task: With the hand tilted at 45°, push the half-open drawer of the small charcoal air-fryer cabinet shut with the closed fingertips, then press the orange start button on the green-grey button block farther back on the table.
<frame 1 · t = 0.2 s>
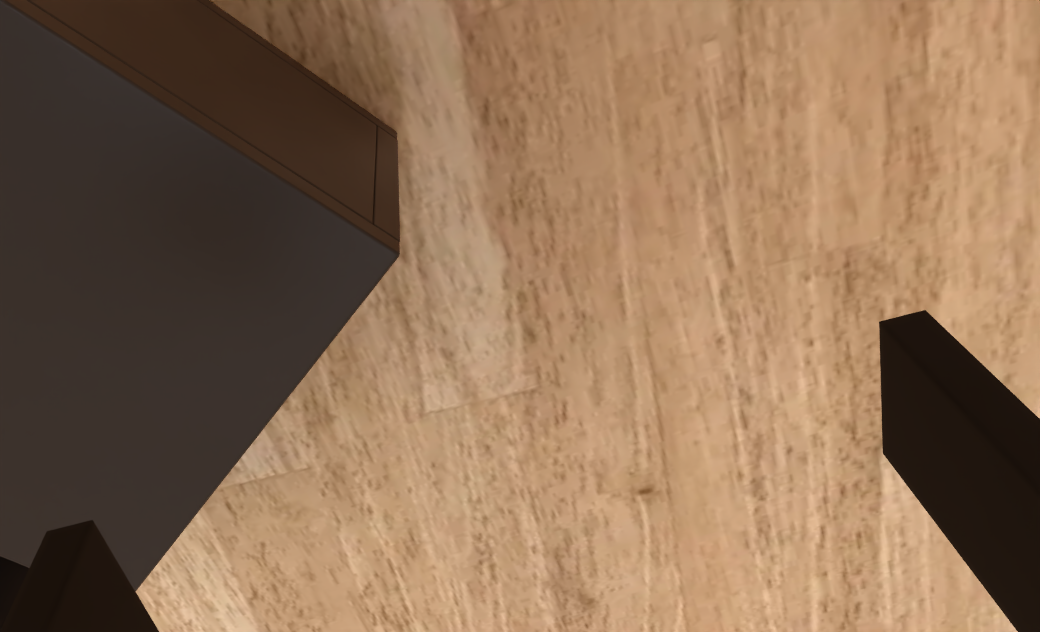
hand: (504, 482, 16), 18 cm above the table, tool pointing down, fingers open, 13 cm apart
cabinet: (131, 191, 31), on the table
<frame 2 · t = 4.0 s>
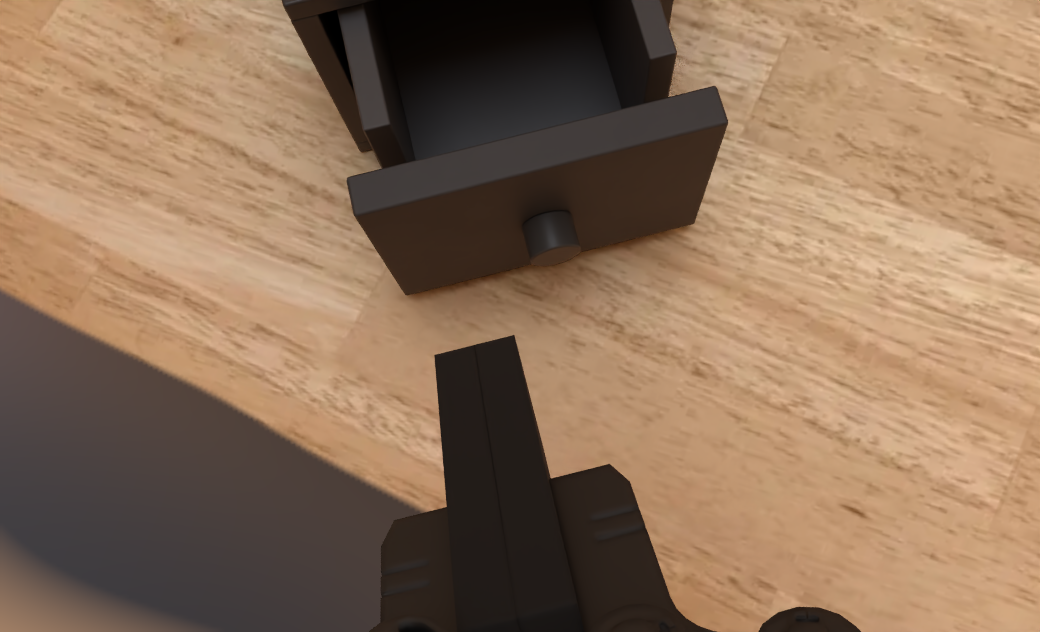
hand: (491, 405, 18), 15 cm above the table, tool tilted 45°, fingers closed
drawer: (504, 62, 30), point 5 cm above the table, slide at 5.0 cm
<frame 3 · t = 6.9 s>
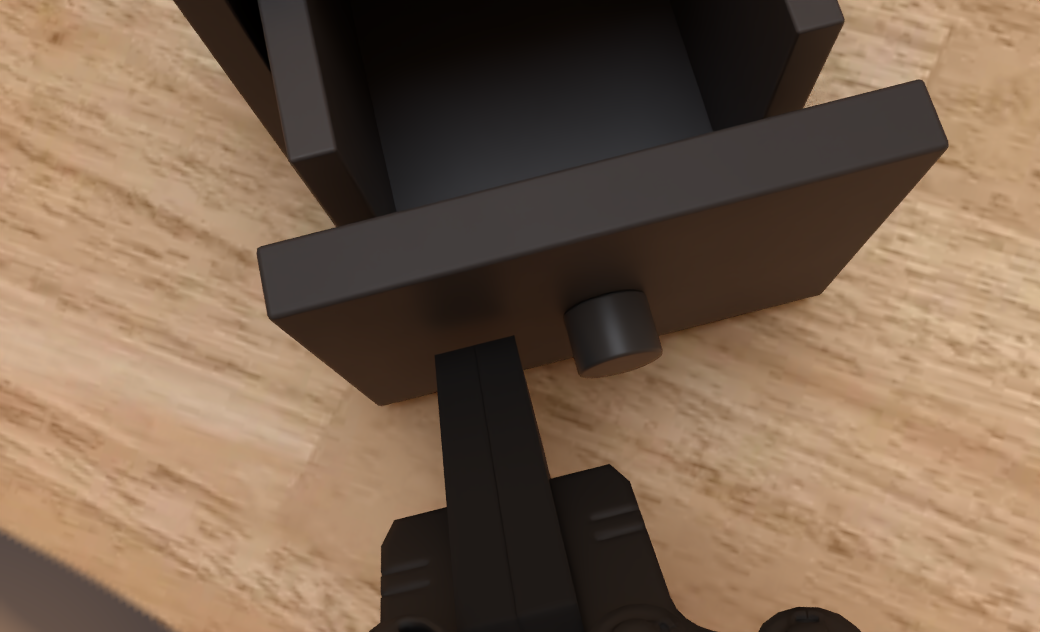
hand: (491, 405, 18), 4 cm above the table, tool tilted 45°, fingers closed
drawer: (531, 45, 19), point 5 cm above the table, slide at 4.5 cm, touching gripper
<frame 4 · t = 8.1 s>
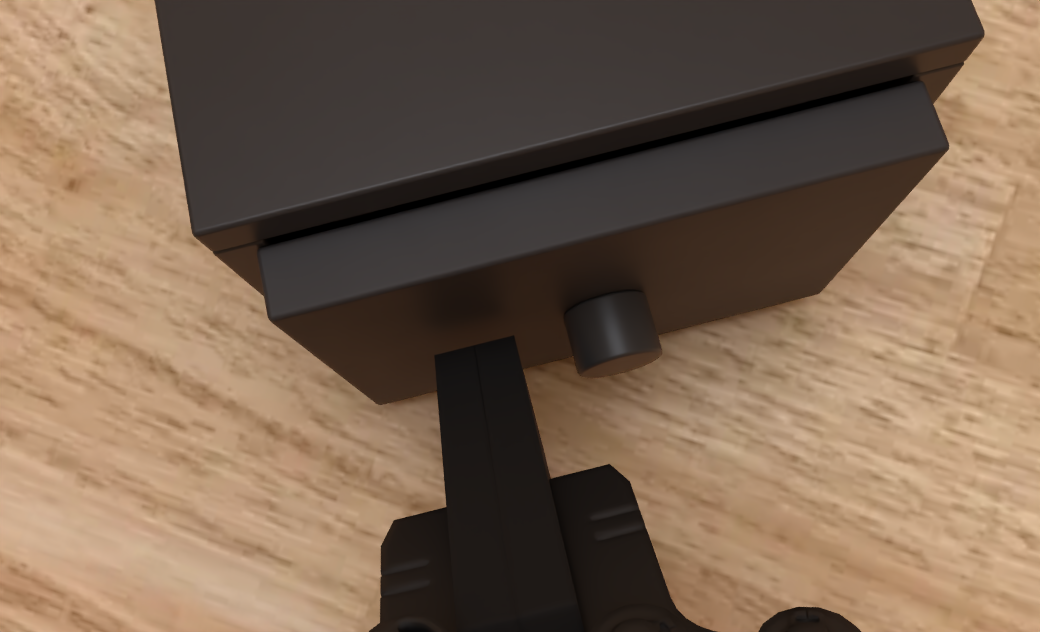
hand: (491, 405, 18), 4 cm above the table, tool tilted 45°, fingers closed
drawer: (531, 44, 19), point 5 cm above the table, slide at 0.0 cm, touching cabinet, gripper
cabinet: (518, 65, 24), on the table
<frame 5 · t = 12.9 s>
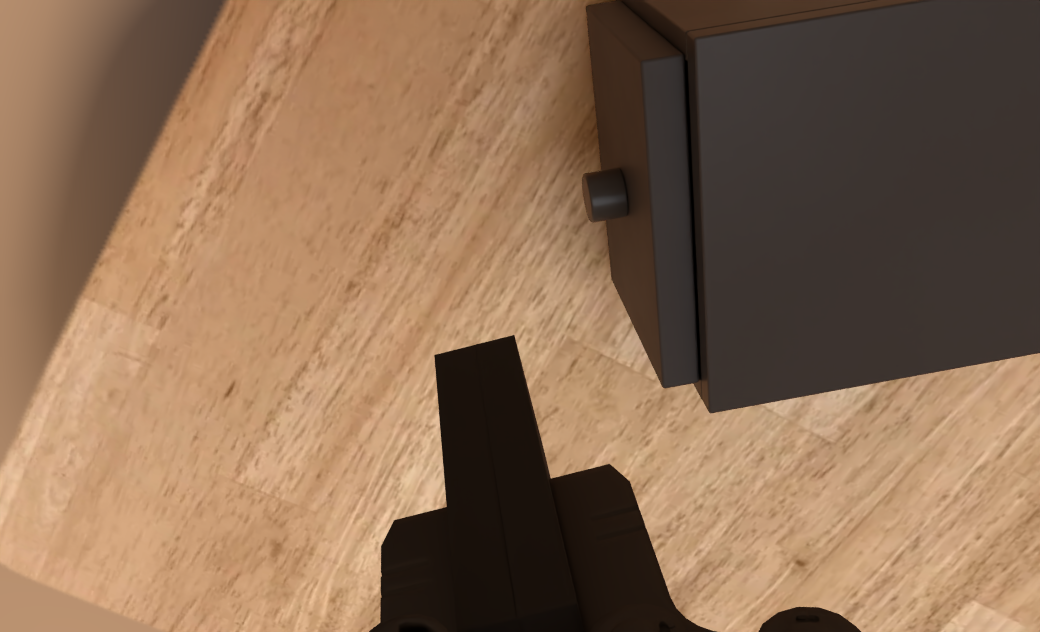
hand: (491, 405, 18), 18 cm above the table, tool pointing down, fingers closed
drawer: (792, 162, 31), point 5 cm above the table, slide at 0.0 cm, touching cabinet
cabinet: (805, 109, 35), on the table
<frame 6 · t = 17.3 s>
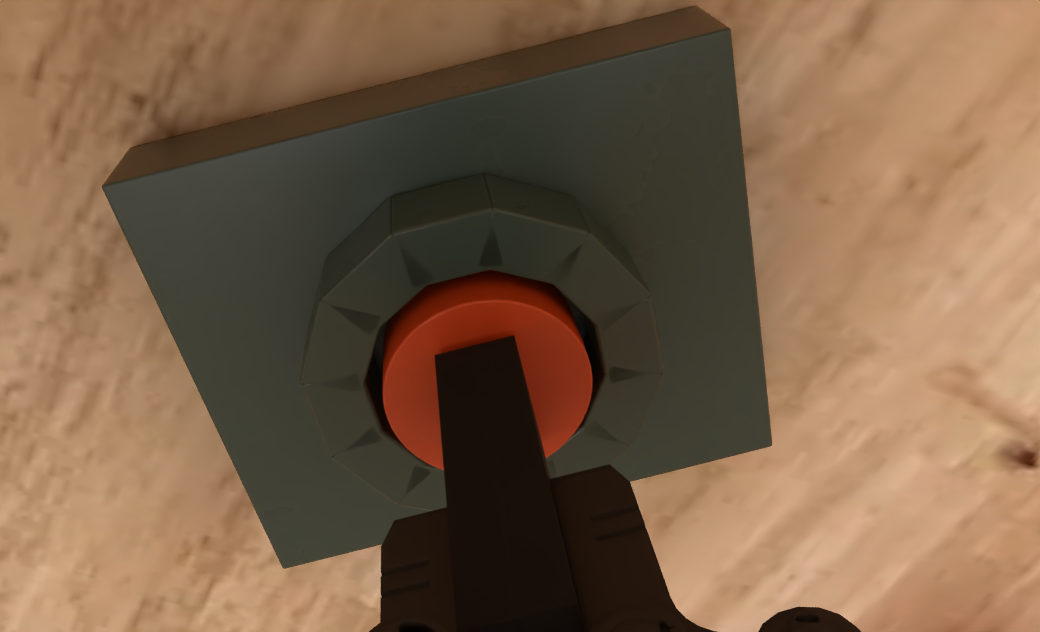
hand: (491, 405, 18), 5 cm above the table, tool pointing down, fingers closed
start button: (485, 369, 19), point 4 cm above the table, slide at -0.7 cm, touching gripper
button block: (471, 285, 22), on the table
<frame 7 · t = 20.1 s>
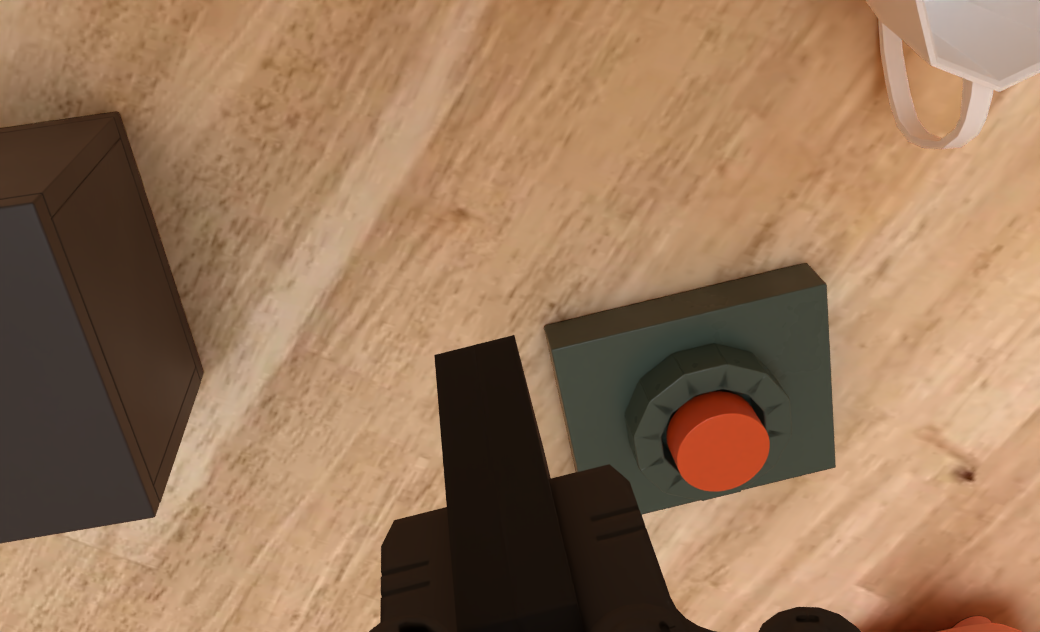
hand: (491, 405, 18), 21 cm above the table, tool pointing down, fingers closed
start button: (717, 441, 40), point 4 cm above the table, slide at 0.1 cm
button block: (688, 386, 44), on the table
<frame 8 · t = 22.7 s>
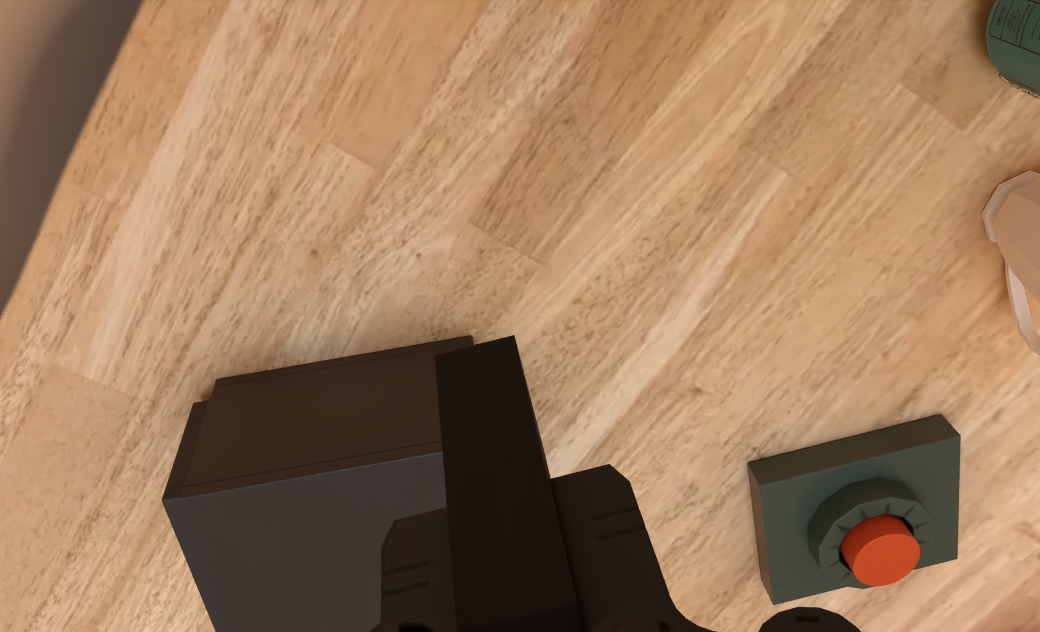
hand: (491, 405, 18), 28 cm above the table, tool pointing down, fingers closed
drawer: (319, 508, 48), point 5 cm above the table, slide at 0.0 cm, touching cabinet
start button: (879, 550, 55), point 4 cm above the table, slide at 0.1 cm
cup: (1013, 232, 51), on the table
cabinet: (367, 444, 52), on the table
button block: (847, 500, 59), on the table
beverage bottle: (1025, 10, 45), on the table
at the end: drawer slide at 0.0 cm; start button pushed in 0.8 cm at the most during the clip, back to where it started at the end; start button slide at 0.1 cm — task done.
